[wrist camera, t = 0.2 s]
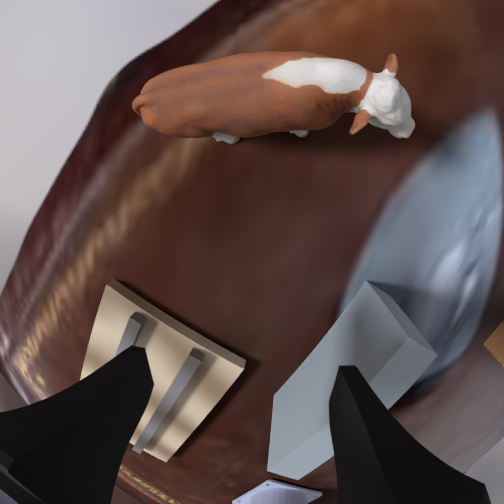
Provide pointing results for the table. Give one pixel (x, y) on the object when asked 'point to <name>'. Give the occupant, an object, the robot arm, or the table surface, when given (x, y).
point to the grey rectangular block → (325, 370)
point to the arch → (496, 343)
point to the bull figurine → (273, 97)
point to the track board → (162, 367)
